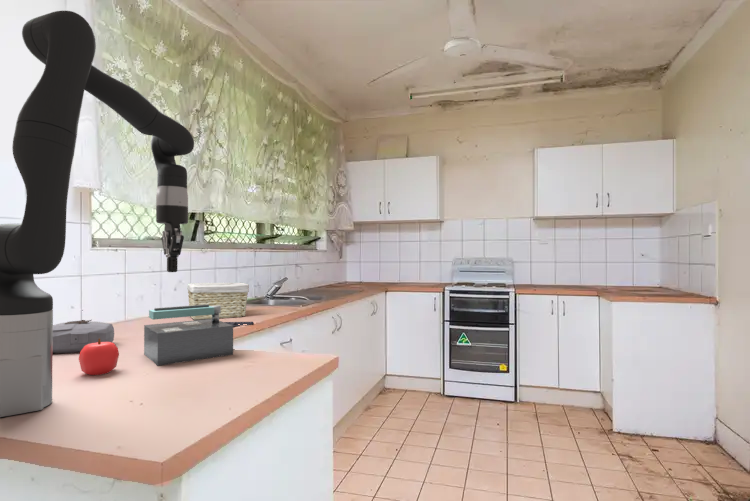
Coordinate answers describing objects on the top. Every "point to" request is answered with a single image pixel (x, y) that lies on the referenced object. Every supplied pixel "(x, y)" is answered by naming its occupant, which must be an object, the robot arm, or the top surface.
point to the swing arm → (183, 311)
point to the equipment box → (188, 340)
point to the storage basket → (219, 298)
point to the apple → (98, 358)
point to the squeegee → (239, 323)
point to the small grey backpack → (80, 335)
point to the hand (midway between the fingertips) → (172, 271)
